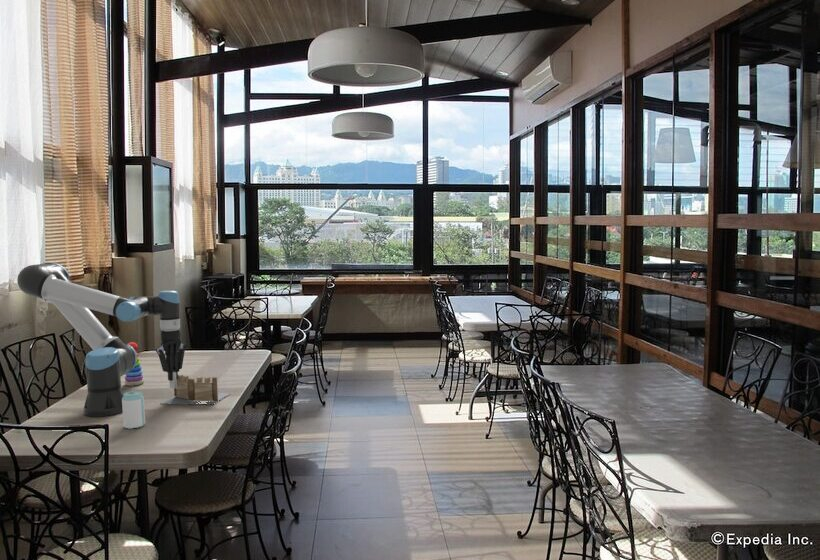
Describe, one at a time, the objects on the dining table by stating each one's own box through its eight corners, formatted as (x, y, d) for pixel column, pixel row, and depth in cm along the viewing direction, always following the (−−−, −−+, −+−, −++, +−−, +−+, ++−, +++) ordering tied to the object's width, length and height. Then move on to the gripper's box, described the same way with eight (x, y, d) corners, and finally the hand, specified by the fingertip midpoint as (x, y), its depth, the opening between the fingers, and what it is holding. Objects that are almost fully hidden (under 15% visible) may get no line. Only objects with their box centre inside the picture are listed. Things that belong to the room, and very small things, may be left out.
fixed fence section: (216, 402, 264) (215, 378, 263) (188, 401, 266) (186, 377, 265) (219, 400, 266) (217, 376, 265) (191, 400, 268) (189, 376, 267)
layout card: (212, 405, 260) (212, 403, 260) (160, 404, 263) (160, 402, 263) (230, 394, 276) (230, 393, 276) (180, 393, 279) (180, 392, 279)
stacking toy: (147, 381, 301) (145, 340, 299) (138, 386, 293) (136, 344, 291) (130, 381, 302) (128, 340, 300) (121, 386, 294) (118, 344, 292)
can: (119, 429, 232) (117, 395, 231) (131, 423, 239) (129, 390, 238) (137, 430, 231) (135, 396, 230) (149, 423, 238) (147, 390, 237)
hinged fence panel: (187, 399, 267) (186, 376, 266) (173, 396, 272) (172, 374, 271) (191, 398, 268) (190, 376, 267) (177, 395, 273) (176, 373, 272)
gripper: (162, 332, 259) (165, 392, 261) (190, 328, 269) (192, 385, 271) (150, 331, 263) (153, 390, 265) (178, 326, 273) (181, 383, 275)
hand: (173, 388), depth 268 cm, fingers closed
